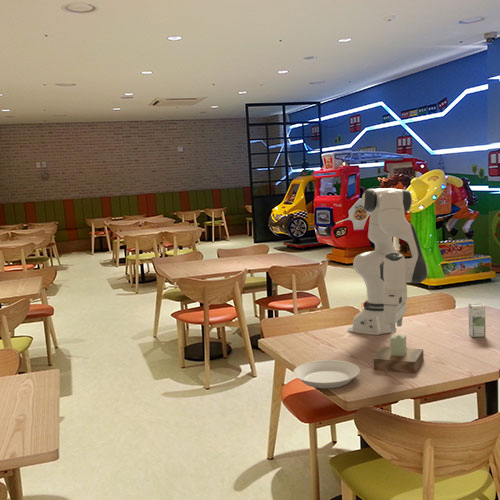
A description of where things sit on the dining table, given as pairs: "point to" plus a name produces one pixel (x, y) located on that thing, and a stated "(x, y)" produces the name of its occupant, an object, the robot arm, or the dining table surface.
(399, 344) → the sage block
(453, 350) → the dining table surface
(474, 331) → the syrup box
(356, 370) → the white plate
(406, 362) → the walnut block
